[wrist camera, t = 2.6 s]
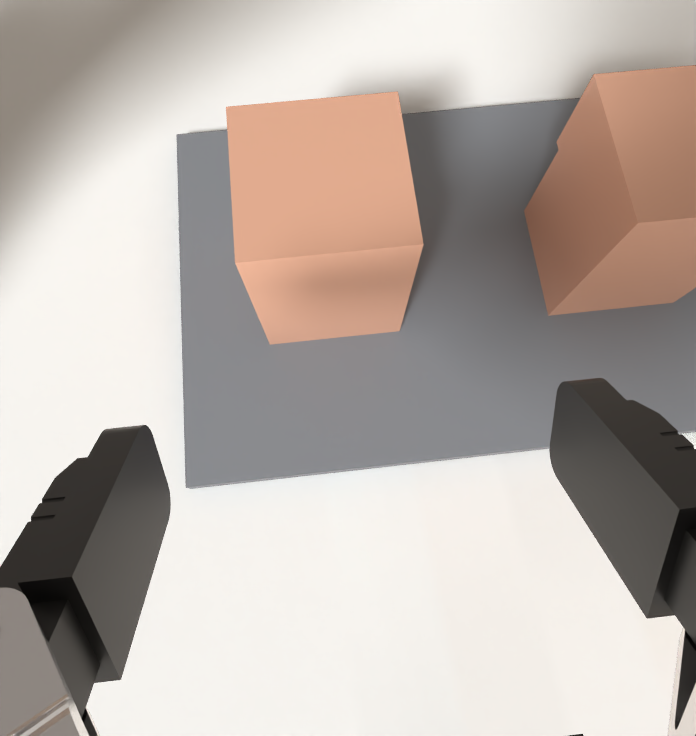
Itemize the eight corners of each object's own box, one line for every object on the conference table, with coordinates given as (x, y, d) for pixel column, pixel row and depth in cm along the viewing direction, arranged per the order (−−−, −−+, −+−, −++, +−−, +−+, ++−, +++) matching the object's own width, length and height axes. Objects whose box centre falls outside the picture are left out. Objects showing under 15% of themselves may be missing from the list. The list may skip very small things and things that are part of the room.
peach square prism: (269, 344, 25) (234, 262, 17) (261, 229, 26) (226, 106, 19) (399, 331, 25) (423, 244, 17) (383, 217, 26) (397, 91, 19)
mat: (191, 488, 23) (185, 487, 23) (181, 145, 28) (176, 134, 28) (764, 424, 24) (777, 421, 24) (656, 101, 29) (665, 90, 29)
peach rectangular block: (548, 315, 25) (638, 223, 17) (522, 203, 27) (593, 74, 19) (673, 302, 25) (817, 205, 17) (639, 192, 27) (758, 59, 19)
